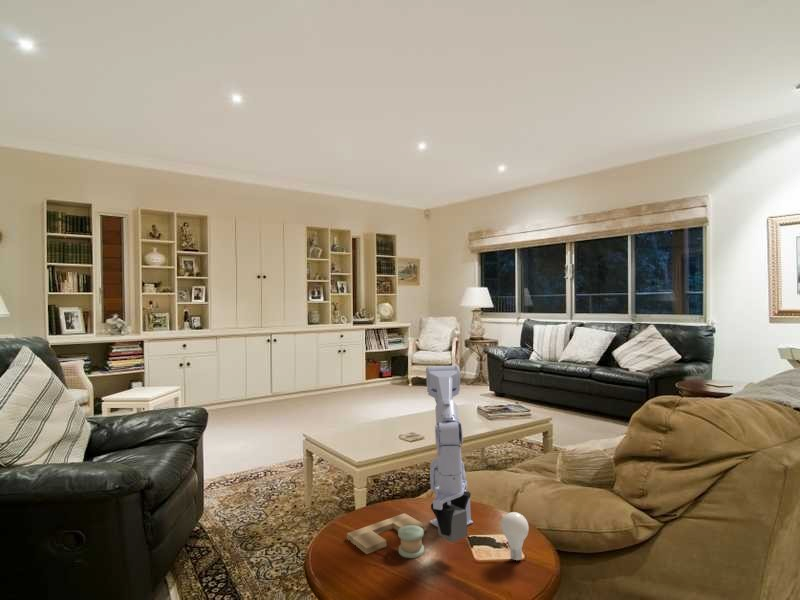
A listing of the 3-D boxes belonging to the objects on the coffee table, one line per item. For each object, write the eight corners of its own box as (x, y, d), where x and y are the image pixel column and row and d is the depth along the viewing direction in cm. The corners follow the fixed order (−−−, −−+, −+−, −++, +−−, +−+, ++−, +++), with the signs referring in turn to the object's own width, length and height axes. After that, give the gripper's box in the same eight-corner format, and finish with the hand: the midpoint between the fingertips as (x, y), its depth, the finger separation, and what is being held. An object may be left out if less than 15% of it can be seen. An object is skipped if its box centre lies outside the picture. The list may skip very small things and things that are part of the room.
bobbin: (413, 542, 121) (413, 522, 121) (429, 552, 116) (428, 531, 116) (393, 550, 117) (393, 530, 117) (408, 561, 112) (408, 540, 112)
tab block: (453, 528, 116) (452, 504, 116) (467, 535, 112) (466, 510, 112) (438, 534, 113) (437, 509, 113) (451, 542, 109) (450, 516, 109)
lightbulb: (531, 568, 107) (529, 519, 107) (502, 566, 108) (500, 518, 109) (529, 553, 113) (527, 508, 113) (502, 552, 114) (500, 507, 115)
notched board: (404, 518, 135) (404, 513, 135) (426, 530, 127) (426, 525, 127) (347, 538, 124) (346, 533, 124) (366, 554, 116) (366, 548, 116)
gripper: (448, 460, 121) (450, 513, 121) (420, 478, 109) (423, 537, 109) (473, 464, 117) (476, 518, 117) (447, 484, 105) (450, 544, 105)
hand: (452, 528), depth 113 cm, fingers closed on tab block, 6 cm apart
